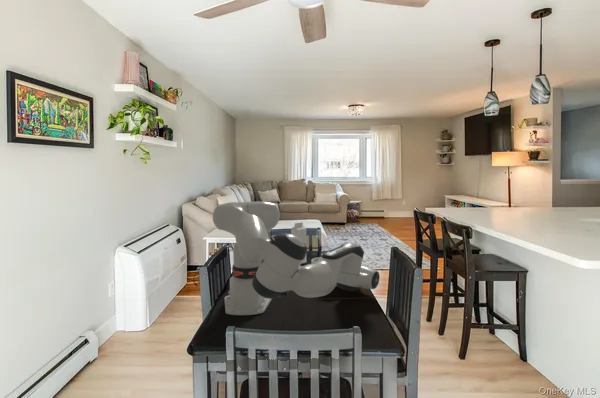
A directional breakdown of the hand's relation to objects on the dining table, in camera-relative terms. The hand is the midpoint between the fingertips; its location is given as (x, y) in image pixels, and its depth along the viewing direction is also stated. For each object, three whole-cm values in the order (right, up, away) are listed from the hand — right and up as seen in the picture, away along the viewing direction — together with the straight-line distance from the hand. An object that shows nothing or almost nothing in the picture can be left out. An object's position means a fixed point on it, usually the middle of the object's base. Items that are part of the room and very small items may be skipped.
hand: (324, 264), depth 164 cm
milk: (-12, -5, +31) cm, 33 cm away
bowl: (+1, -6, +17) cm, 18 cm away
